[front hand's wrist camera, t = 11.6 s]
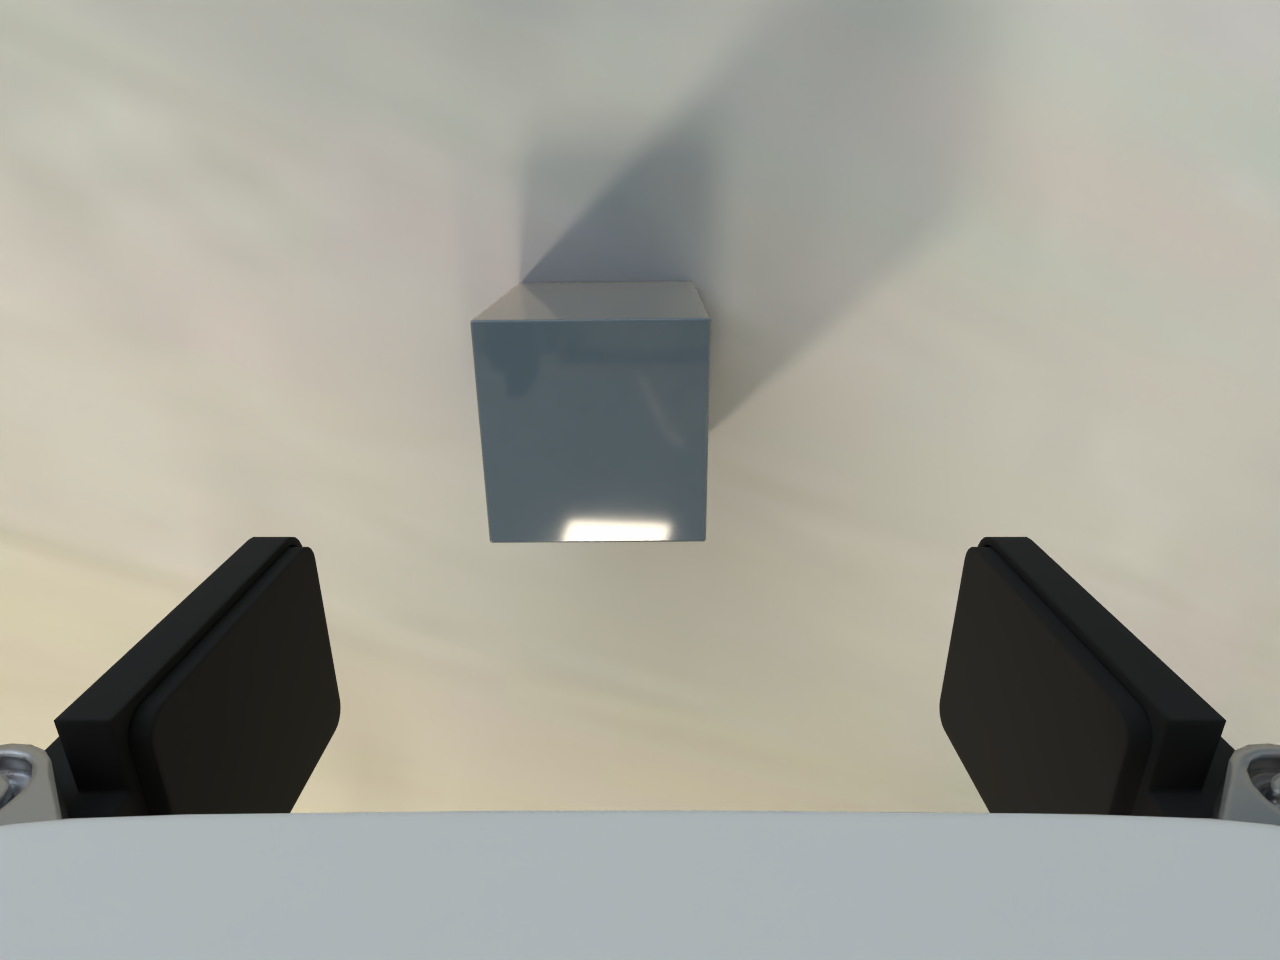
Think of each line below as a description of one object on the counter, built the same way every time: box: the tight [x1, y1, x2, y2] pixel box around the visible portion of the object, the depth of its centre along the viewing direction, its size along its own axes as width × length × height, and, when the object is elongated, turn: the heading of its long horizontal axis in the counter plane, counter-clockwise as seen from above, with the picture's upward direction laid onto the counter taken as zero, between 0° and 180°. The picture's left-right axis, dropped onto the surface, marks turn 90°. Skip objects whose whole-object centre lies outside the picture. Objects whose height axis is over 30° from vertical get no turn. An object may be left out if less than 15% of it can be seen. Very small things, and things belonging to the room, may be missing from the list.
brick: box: [471, 281, 711, 543], centre depth 23 cm, size 6×6×8 cm
